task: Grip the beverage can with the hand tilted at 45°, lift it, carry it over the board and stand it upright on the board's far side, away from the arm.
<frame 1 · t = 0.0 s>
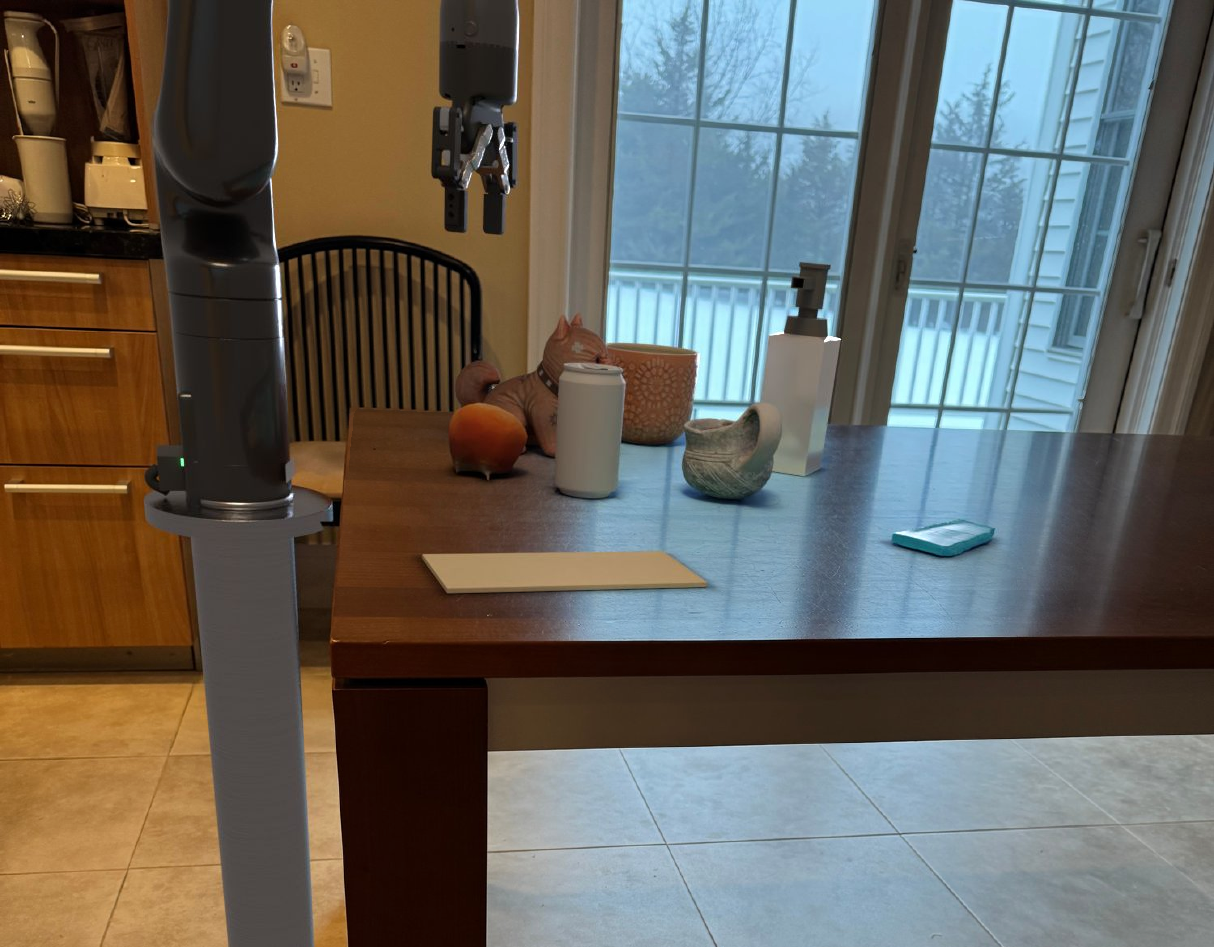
hand: (475, 233, 115), 22 cm above the table, tool pointing down, fingers open, 8 cm apart
soap dispenser: (782, 471, 133), on the table
planter: (642, 441, 145), on the table
figurine: (531, 451, 133), on the table
mug: (732, 501, 116), on the table
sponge: (950, 546, 105), on the table
fruit: (485, 475, 118), on the table
board: (563, 573, 86), on the table
beverage can: (584, 494, 113), on the table
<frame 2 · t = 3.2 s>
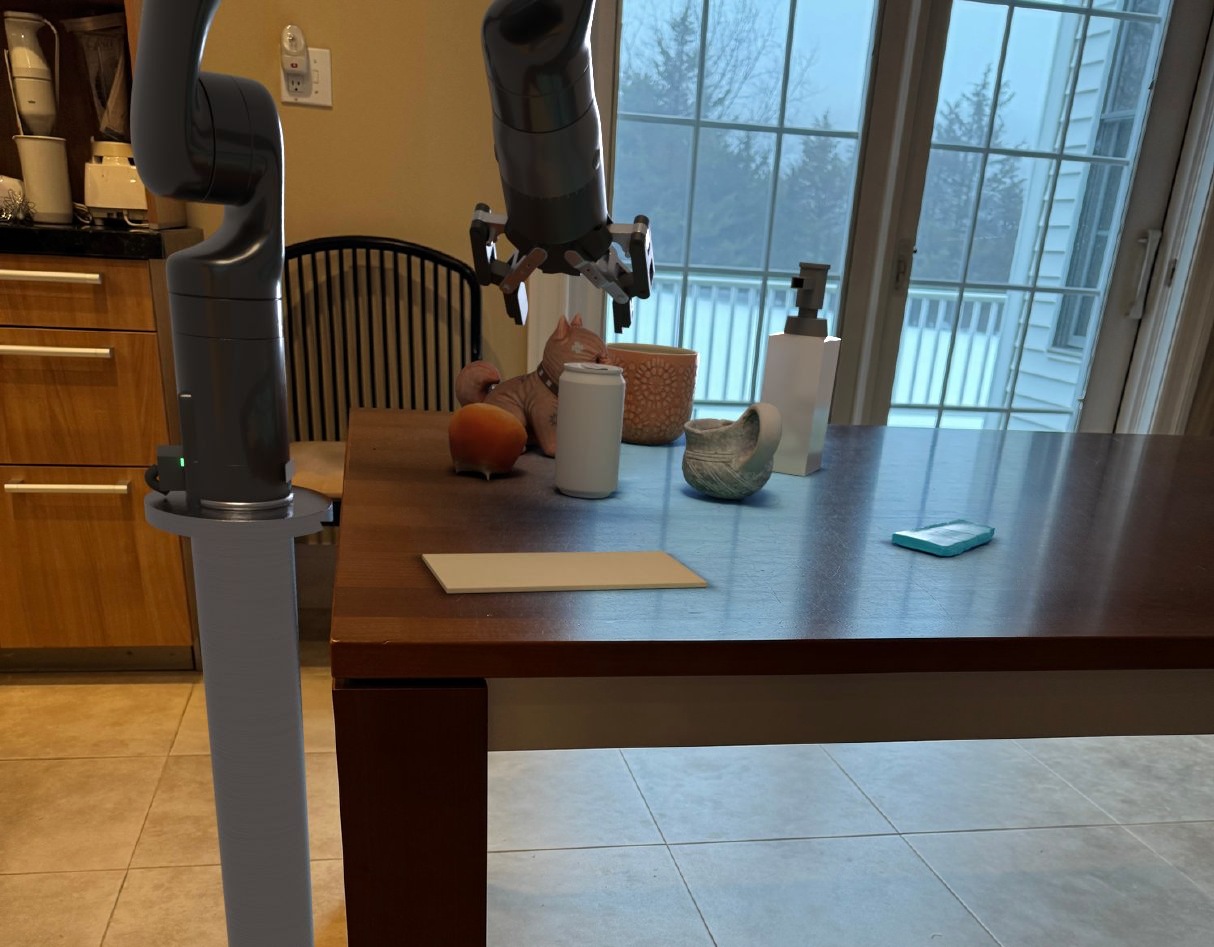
hand: (570, 321, 96), 16 cm above the table, tool tilted 45°, fingers open, 8 cm apart
nothing on the table moved.
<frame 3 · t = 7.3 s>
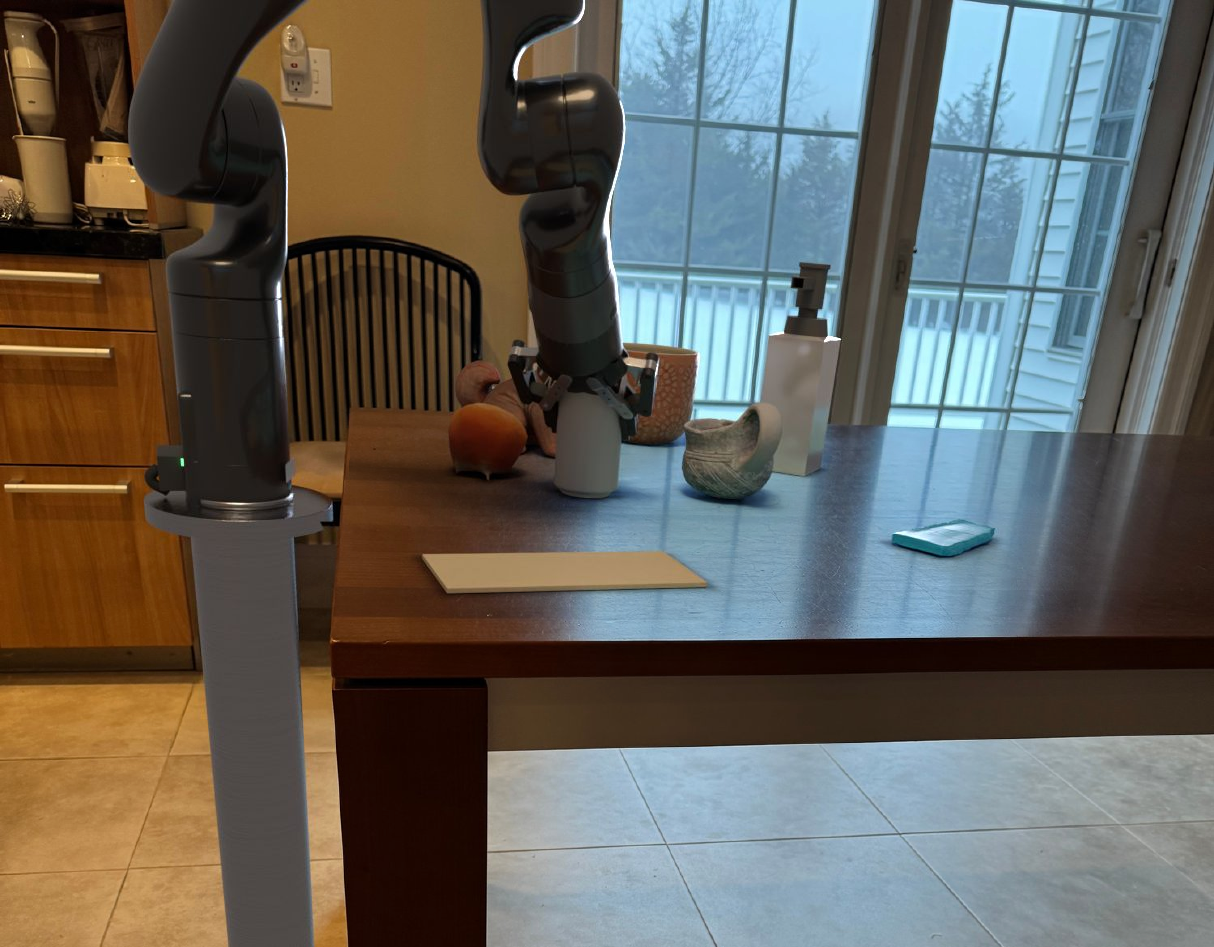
hand: (592, 429, 112), 6 cm above the table, tool tilted 45°, fingers closed on beverage can, 6 cm apart
beverage can: (585, 494, 113), on the table, touching gripper
everything else where it was.
when the fingers open (6 cm above the table, at t = 18.5 s): beverage can stays where it is, on the table.
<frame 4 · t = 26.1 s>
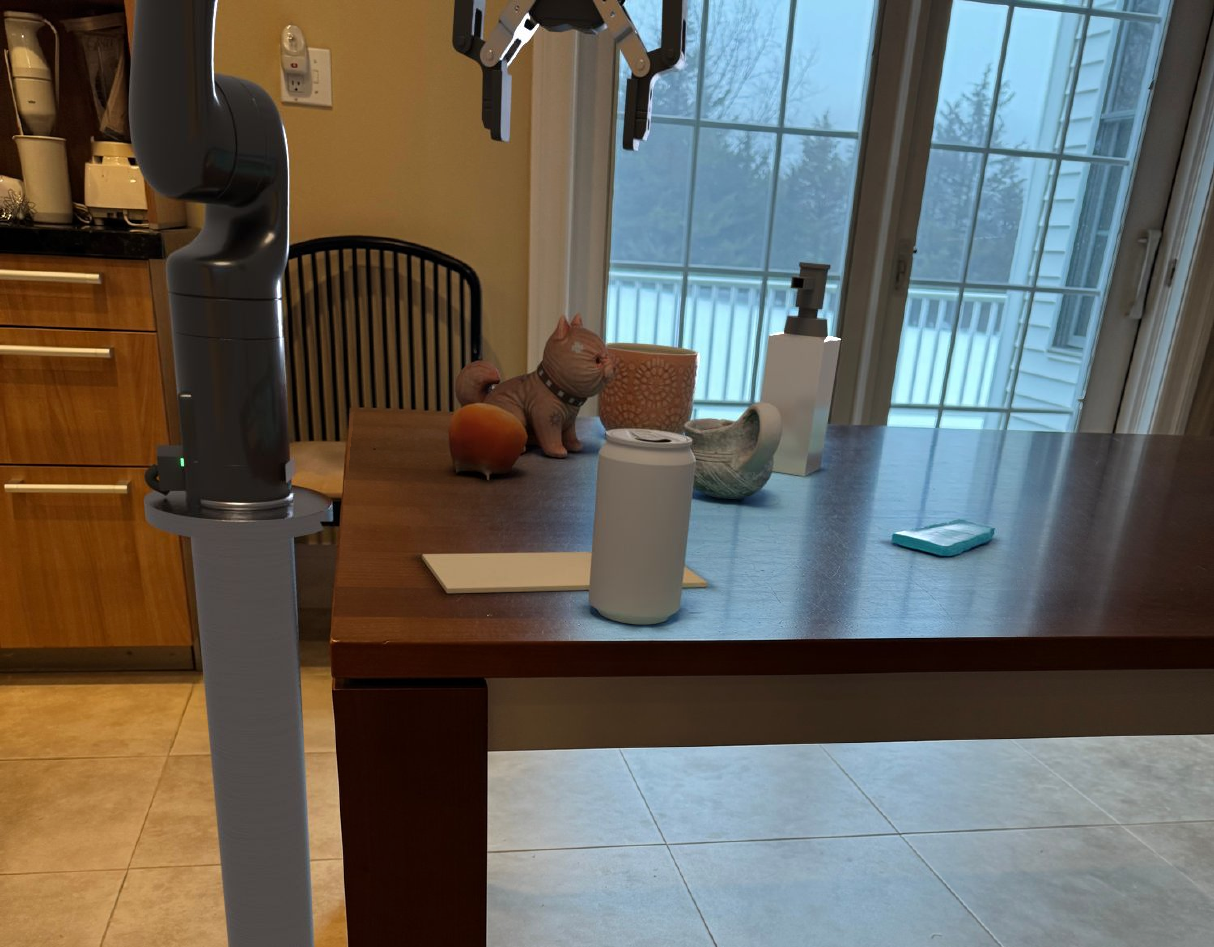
hand: (564, 145, 72), 28 cm above the table, tool pointing down, fingers open, 8 cm apart
beverage can: (632, 615, 79), on the table
everything else where it was.
at the end: beverage can inside the target area on the table beside the board (1.9 cm from its centre), on the table; beverage can tilted 0° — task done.
